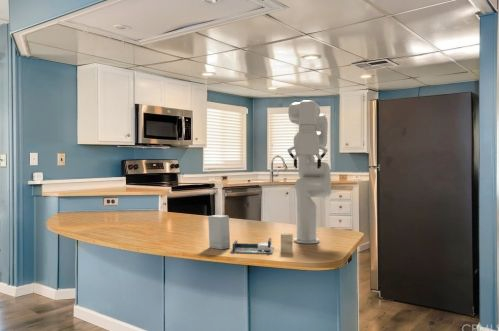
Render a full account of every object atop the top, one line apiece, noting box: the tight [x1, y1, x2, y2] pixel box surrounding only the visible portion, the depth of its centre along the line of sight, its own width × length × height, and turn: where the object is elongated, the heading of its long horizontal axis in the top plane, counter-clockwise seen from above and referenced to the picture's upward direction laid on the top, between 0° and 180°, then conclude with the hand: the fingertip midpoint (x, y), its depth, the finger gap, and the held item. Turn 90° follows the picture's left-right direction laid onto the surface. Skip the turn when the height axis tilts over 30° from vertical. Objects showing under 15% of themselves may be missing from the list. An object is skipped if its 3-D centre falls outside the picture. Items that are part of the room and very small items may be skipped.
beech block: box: [280, 231, 294, 254], centre depth 188 cm, size 5×5×8 cm
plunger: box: [257, 237, 272, 252], centre depth 188 cm, size 9×6×4 cm, turn 173°
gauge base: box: [230, 240, 275, 255], centre depth 190 cm, size 12×18×4 cm, turn 83°
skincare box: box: [207, 214, 231, 250], centre depth 195 cm, size 8×6×15 cm
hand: (307, 168), depth 186 cm, fingers open, 9 cm apart
